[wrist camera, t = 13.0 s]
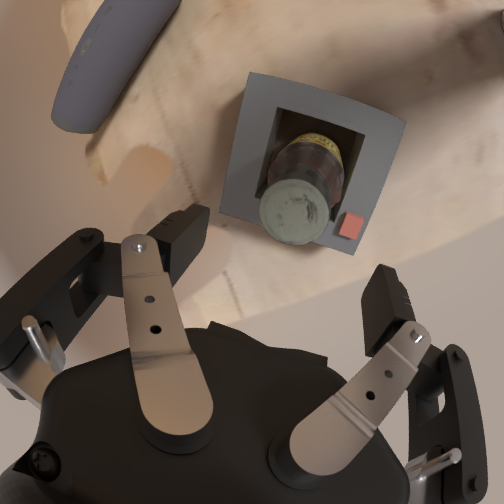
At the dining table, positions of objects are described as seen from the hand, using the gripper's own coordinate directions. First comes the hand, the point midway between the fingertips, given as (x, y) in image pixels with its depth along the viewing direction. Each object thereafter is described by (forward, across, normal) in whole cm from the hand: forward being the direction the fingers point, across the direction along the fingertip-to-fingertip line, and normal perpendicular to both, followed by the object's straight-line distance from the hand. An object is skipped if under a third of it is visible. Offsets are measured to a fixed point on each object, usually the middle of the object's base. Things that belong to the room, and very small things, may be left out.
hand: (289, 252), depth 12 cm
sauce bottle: (+24, 0, 0) cm, 24 cm away
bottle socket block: (+23, 0, 0) cm, 23 cm away
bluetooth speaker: (+24, +27, -10) cm, 37 cm away
